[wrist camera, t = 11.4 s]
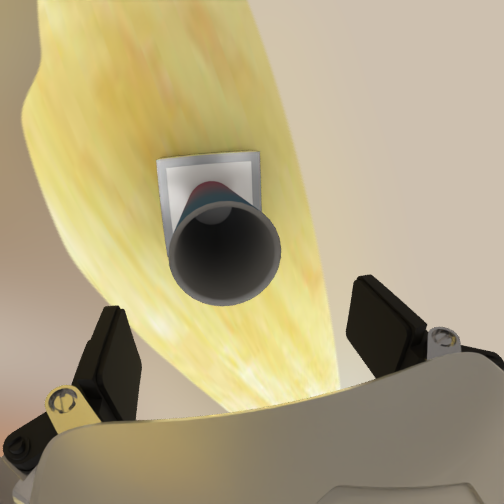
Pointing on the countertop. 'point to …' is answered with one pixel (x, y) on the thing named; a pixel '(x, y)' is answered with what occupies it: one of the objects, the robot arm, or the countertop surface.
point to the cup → (223, 247)
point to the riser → (205, 180)
